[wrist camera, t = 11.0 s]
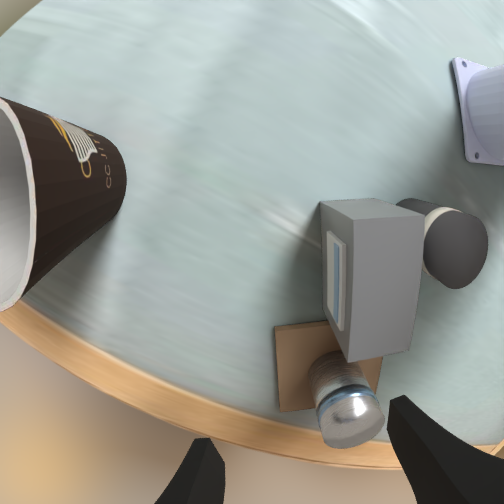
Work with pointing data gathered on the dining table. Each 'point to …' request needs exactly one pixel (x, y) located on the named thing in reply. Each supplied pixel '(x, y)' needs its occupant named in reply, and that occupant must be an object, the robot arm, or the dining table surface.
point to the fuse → (344, 401)
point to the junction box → (371, 274)
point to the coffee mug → (50, 193)
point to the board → (308, 362)
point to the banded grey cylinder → (450, 243)
